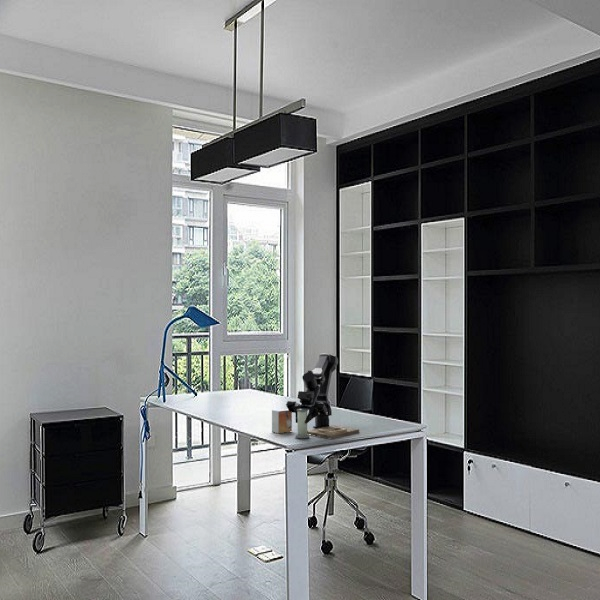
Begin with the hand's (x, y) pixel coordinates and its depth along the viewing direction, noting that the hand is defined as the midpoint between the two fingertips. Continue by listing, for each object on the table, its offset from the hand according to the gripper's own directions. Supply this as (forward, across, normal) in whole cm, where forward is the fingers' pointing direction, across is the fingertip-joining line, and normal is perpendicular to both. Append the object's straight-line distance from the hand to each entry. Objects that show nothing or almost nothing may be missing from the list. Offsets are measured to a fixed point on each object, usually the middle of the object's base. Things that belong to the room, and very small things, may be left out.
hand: (301, 422), depth 304 cm
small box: (-2, -15, +12) cm, 19 cm away
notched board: (-7, +8, +17) cm, 20 cm away
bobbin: (+4, 0, +6) cm, 7 cm away
